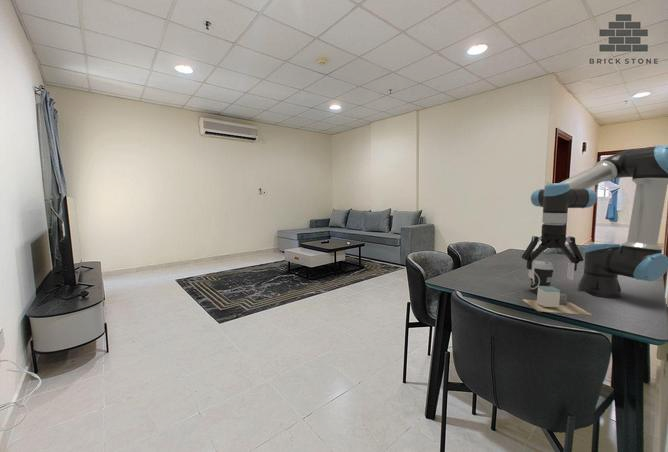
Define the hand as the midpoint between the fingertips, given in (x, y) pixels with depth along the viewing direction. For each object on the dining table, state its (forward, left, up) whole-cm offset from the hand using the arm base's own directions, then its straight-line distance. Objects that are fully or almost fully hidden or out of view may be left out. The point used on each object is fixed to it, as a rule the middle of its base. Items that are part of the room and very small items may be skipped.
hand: (550, 278), depth 113 cm
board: (-3, -1, -13) cm, 13 cm away
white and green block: (0, 0, -11) cm, 11 cm away
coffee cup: (-6, -19, -13) cm, 24 cm away
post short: (-7, -4, -12) cm, 14 cm away
